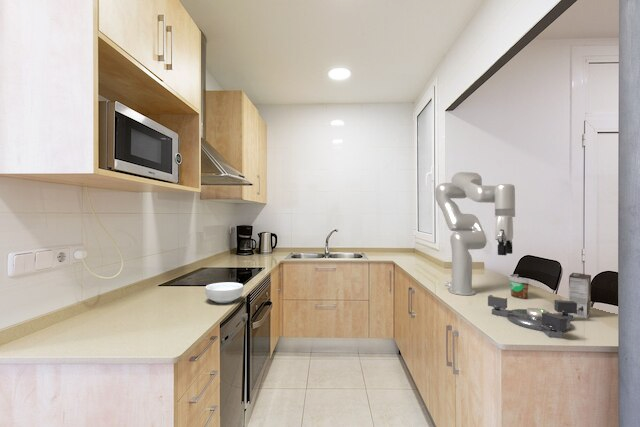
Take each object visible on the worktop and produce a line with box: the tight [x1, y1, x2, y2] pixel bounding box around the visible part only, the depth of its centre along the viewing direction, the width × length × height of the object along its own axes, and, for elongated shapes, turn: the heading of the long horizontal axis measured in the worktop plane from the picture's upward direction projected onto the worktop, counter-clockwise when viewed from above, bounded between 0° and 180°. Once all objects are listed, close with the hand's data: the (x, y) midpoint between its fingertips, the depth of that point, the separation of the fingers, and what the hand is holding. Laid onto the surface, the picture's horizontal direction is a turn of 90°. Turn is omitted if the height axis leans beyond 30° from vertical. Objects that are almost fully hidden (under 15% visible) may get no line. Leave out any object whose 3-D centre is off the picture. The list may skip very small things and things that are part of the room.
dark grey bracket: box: [487, 294, 508, 310], centre depth 136 cm, size 6×4×4 cm
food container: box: [508, 273, 530, 300], centre depth 164 cm, size 12×6×10 cm, turn 172°
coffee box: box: [568, 272, 592, 319], centre depth 137 cm, size 9×6×16 cm
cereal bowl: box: [204, 281, 244, 304], centre depth 151 cm, size 17×17×7 cm
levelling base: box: [491, 299, 577, 339], centre depth 128 cm, size 26×30×7 cm
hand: (505, 254), depth 140 cm, fingers open, 9 cm apart
